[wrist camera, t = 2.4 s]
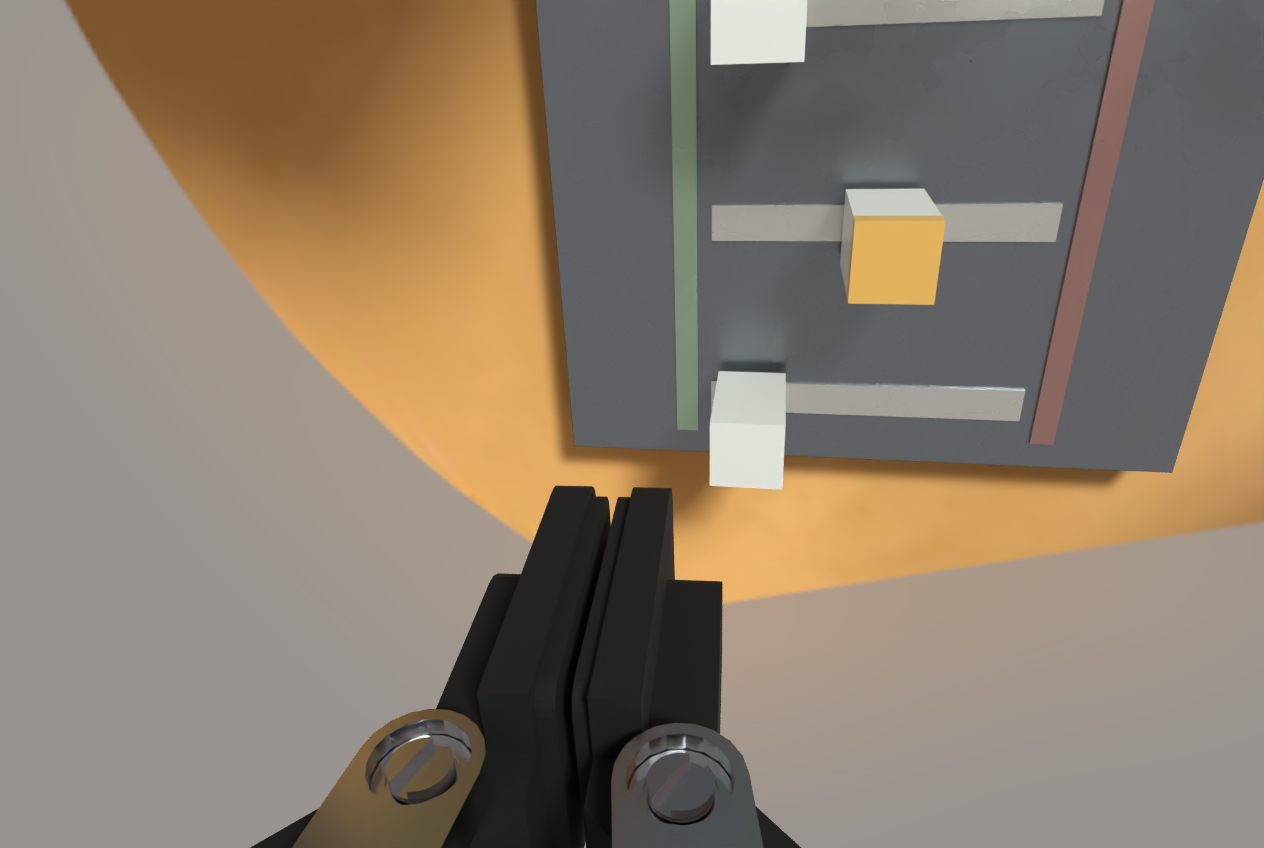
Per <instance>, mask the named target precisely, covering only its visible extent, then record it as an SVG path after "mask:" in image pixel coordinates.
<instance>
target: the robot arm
mask: <svg viewBox="0 0 1264 848" xmlns="http://www.w3.org/2000/svg"><path fill="white" fill-rule="evenodd" d="M721 673H722V582H720V581H692V580H675V572H674V536H673V501H672V490H671V488H637V487H634V488H633V490H632V493H631V497H618V499H617V503H616V507H615V511H614V515H613V520H612V524H610V510H609V501H608V498H607V497H596V494H595V490H594V488H593V487H592V486H555V487H554V489H553V491H552V493H551V496H550V499H549V501H548V504H547V507H546V509H545V512H544V515H543V517H542V520H541V523H540V525H539V528H538V531H537V533H536V536H535V539H534V541H533V544H532V547H531V549H530V552H529V555H528V557H527V560H526V563H525V565H524V568H523V571H522V573H521V574H496V575H494V576H493V578H492V579H491V581H490V583H489V585H488V588H487V590H486V592H485V595H484V597H483V599H482V602H481V604H480V606H479V609H478V611H477V613H476V616H475V618H474V621H473V623H472V625H471V628H470V630H469V633H468V635H467V637H466V640H465V642H464V644H463V646H462V649H461V651H460V654H459V656H458V658H457V661H456V663H455V666H454V668H453V670H452V672H451V675H450V677H449V680H448V682H447V684H446V687H445V689H444V691H443V694H442V696H441V699H440V701H439V703H438V705H437V708H436V709H427V710H422V711H416V712H411V713H408V714H406V715H404V716H401V717H399V718H396V719H394V720H392V721H390V722H389V723H387V724H386V725H384V726H383V727H382V728H380V729H379V730H377V731H376V732H374V733H373V734H372V736H371V737H370V738H369V739H368V740H367V741H366V742H365V743H364V744H363V746H362V747H361V748H360V749H359V751H358V752H357V754H356V755H355V757H354V758H353V760H352V761H351V762H350V764H349V765H348V767H347V768H346V770H345V771H344V773H343V774H342V775H341V777H340V778H339V780H338V781H337V783H336V784H335V786H334V787H333V789H332V790H331V791H330V793H329V794H328V796H327V797H326V799H325V800H324V802H323V803H322V805H321V806H320V807H319V808H318V809H317V810H315V811H313V812H312V813H310V814H308V815H306V816H305V817H303V818H301V819H299V820H298V821H296V822H295V823H293V824H291V825H289V826H287V827H285V828H284V829H282V830H280V831H279V832H277V833H275V834H273V835H272V836H270V837H268V838H266V839H265V840H263V841H261V842H259V843H258V844H256V845H254V846H253V847H251V848H584V845H585V840H586V848H801V847H800V846H799V845H797V844H796V843H795V842H794V841H793V840H792V839H791V838H790V837H789V836H788V835H786V834H785V833H784V832H783V831H782V830H781V829H780V828H779V827H778V826H777V825H776V824H774V823H773V822H772V821H771V820H770V819H769V818H768V817H767V816H766V815H764V813H762V812H761V811H760V810H759V809H758V808H757V807H756V806H755V801H754V796H753V791H752V786H751V780H750V775H749V772H748V769H747V766H746V764H745V761H744V758H743V756H742V754H741V753H740V752H739V751H738V750H737V749H736V747H735V746H734V745H733V744H732V743H731V741H730V740H728V739H726V738H725V737H723V736H722V735H720V712H721V710H720V709H721Z"/></svg>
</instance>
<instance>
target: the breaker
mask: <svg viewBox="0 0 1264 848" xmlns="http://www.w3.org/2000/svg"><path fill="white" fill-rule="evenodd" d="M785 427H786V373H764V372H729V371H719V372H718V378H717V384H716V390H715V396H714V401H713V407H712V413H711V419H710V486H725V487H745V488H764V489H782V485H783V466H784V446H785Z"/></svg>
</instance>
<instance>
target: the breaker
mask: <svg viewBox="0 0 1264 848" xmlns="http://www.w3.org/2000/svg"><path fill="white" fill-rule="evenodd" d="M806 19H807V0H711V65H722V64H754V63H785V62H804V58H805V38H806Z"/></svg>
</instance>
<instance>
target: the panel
mask: <svg viewBox="0 0 1264 848" xmlns="http://www.w3.org/2000/svg"><path fill="white" fill-rule="evenodd" d="M536 9H537V21H538V33H539V44H540V56H541V67H542V79H543V90H544V102H545V113H546V125H547V136H548V148H549V159H550V171H551V183H552V194H553V206H554V217H555V229H556V240H557V252H558V263H559V275H560V286H561V298H562V309H563V321H564V333H565V344H566V356H567V367H568V379H569V390H570V402H571V413H572V425H573V436H574V446H591V447H613V448H636V449H658V450H680V451H702V452H710V419H711V413H712V407H713V401H714V396H715V390H716V384H717V378H718V372H719V371H729V372H764V373H786V427H785V446H784V455H791V456H813V457H835V458H857V459H880V460H902V461H924V462H946V463H968V464H991V465H1013V466H1035V467H1057V468H1079V469H1101V470H1124V471H1146V472H1168V473H1172V471H1173V468H1174V465H1175V462H1176V459H1177V455H1178V452H1179V449H1180V446H1181V443H1182V439H1183V436H1184V433H1185V430H1186V427H1187V423H1188V420H1189V417H1190V414H1191V411H1192V407H1193V404H1194V401H1195V398H1196V394H1197V391H1198V388H1199V385H1200V382H1201V378H1202V375H1203V372H1204V369H1205V366H1206V362H1207V359H1208V356H1209V353H1210V350H1211V346H1212V343H1213V340H1214V337H1215V333H1216V330H1217V327H1218V324H1219V321H1220V317H1221V314H1222V311H1223V308H1224V305H1225V301H1226V298H1227V295H1228V292H1229V289H1230V285H1231V282H1232V279H1233V276H1234V273H1235V269H1236V266H1237V263H1238V260H1239V256H1240V253H1241V250H1242V247H1243V244H1244V240H1245V237H1246V234H1247V231H1248V228H1249V224H1250V221H1251V218H1252V215H1253V212H1254V208H1255V205H1256V202H1257V199H1258V195H1259V192H1260V189H1261V186H1262V183H1263V179H1264V0H807V19H806V38H805V58H804V62H785V63H754V64H722V65H711V0H536ZM846 189H925V190H926V192H927V193H928V195H929V197H930V198H931V200H932V201H933V203H934V204H935V206H936V207H937V209H938V210H939V212H940V213H941V215H942V216H943V218H944V219H945V221H946V223H945V230H944V237H943V245H942V252H941V259H940V266H939V274H938V281H937V288H936V296H935V303H934V305H912V304H848V301H847V296H846V291H845V286H844V280H843V275H842V270H841V265H840V257H841V244H842V231H843V219H844V206H845V193H846Z"/></svg>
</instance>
